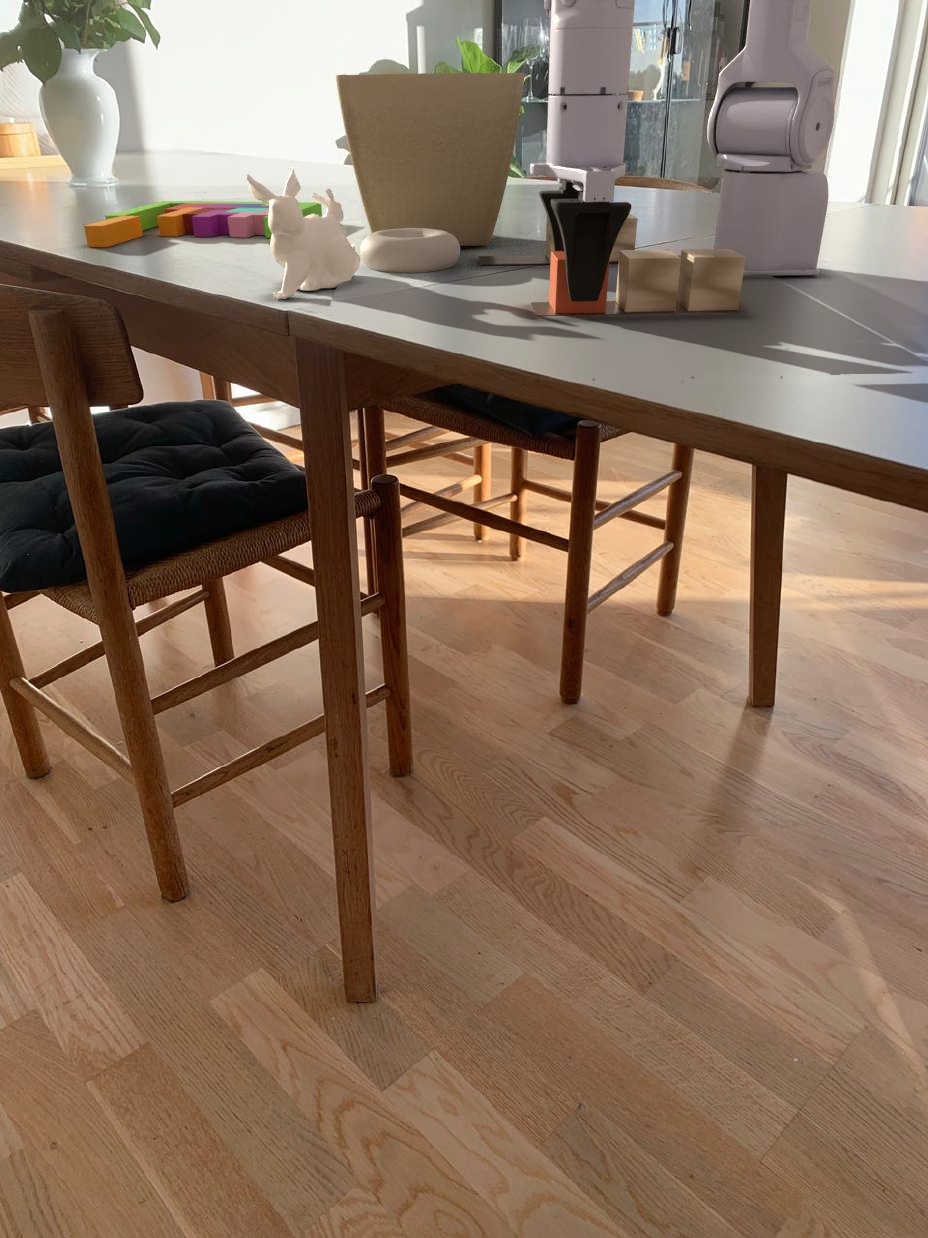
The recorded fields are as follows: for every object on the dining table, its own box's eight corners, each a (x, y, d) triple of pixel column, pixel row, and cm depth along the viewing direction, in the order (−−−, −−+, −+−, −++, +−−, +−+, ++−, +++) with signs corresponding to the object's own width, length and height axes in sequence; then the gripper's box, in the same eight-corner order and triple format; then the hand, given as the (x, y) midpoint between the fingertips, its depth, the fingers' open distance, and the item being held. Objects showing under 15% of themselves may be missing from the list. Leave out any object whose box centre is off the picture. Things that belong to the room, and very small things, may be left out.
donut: (348, 277, 88) (449, 278, 86) (344, 239, 86) (447, 239, 85) (377, 260, 97) (469, 260, 95) (374, 225, 95) (468, 224, 93)
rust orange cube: (597, 302, 75) (600, 250, 73) (606, 312, 71) (609, 258, 69) (548, 302, 75) (550, 251, 73) (555, 313, 71) (557, 259, 69)
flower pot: (347, 232, 114) (337, 75, 106) (498, 228, 116) (499, 74, 107) (347, 256, 98) (335, 73, 89) (522, 251, 100) (526, 72, 91)
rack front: (721, 303, 76) (728, 247, 74) (739, 317, 72) (748, 257, 69) (529, 307, 75) (531, 250, 73) (536, 320, 71) (538, 260, 69)
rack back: (629, 257, 96) (633, 212, 94) (639, 265, 92) (643, 218, 90) (478, 260, 96) (478, 214, 93) (480, 268, 91) (480, 220, 89)
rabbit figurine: (280, 301, 78) (267, 176, 73) (225, 290, 82) (209, 171, 78) (378, 280, 86) (372, 166, 81) (324, 271, 90) (315, 162, 85)
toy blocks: (165, 218, 127) (69, 246, 106) (162, 200, 126) (65, 225, 105) (322, 220, 124) (256, 249, 102) (321, 202, 123) (253, 227, 101)
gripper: (522, 94, 72) (518, 276, 79) (544, 96, 59) (537, 312, 66) (611, 93, 72) (600, 274, 79) (652, 95, 59) (634, 310, 66)
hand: (577, 292), depth 73 cm, fingers open, 6 cm apart
